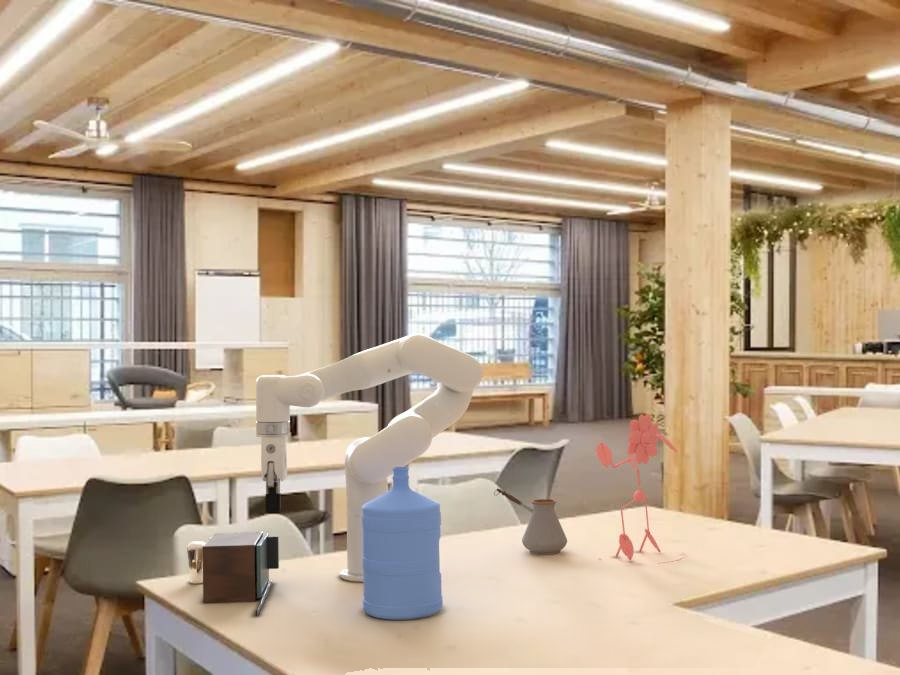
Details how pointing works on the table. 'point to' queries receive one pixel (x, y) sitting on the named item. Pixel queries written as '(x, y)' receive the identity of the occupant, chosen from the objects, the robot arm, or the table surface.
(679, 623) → the table surface
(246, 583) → the cabinet
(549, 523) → the coffee pot
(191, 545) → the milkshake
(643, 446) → the figurine
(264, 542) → the glass door
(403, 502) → the water jug
